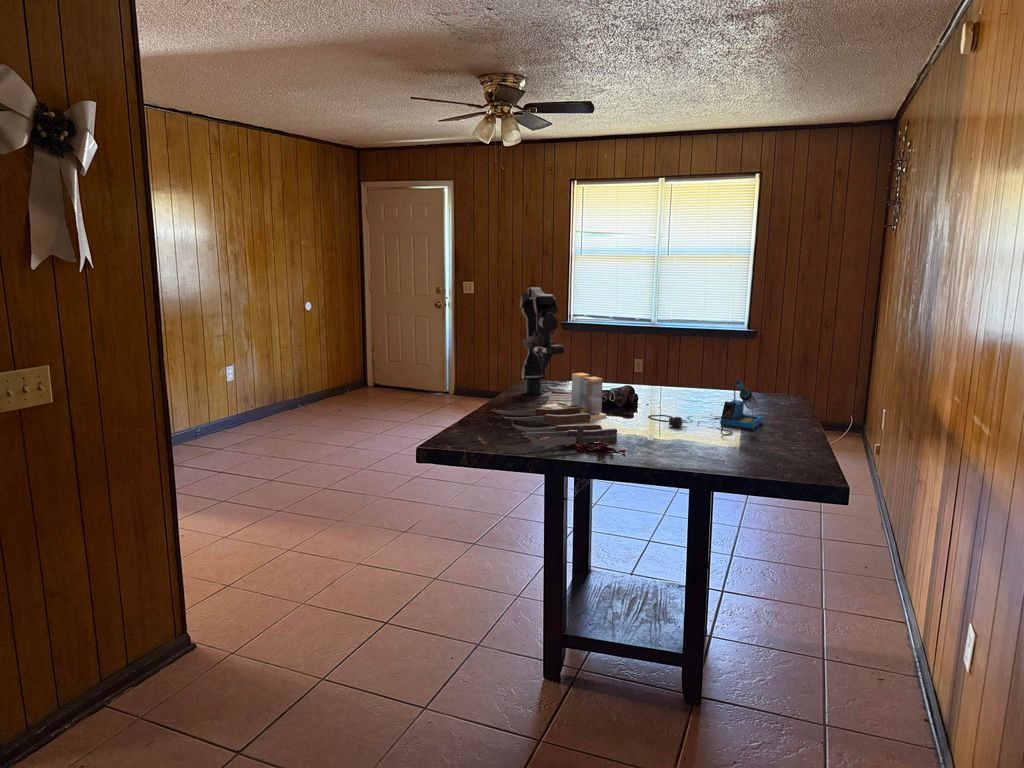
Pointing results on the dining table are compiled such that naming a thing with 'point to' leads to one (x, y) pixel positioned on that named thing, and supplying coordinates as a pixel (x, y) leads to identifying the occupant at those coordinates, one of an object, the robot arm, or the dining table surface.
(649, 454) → the dining table surface
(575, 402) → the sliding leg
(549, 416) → the knife set
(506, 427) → the dining table surface
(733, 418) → the soldering iron
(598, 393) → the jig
